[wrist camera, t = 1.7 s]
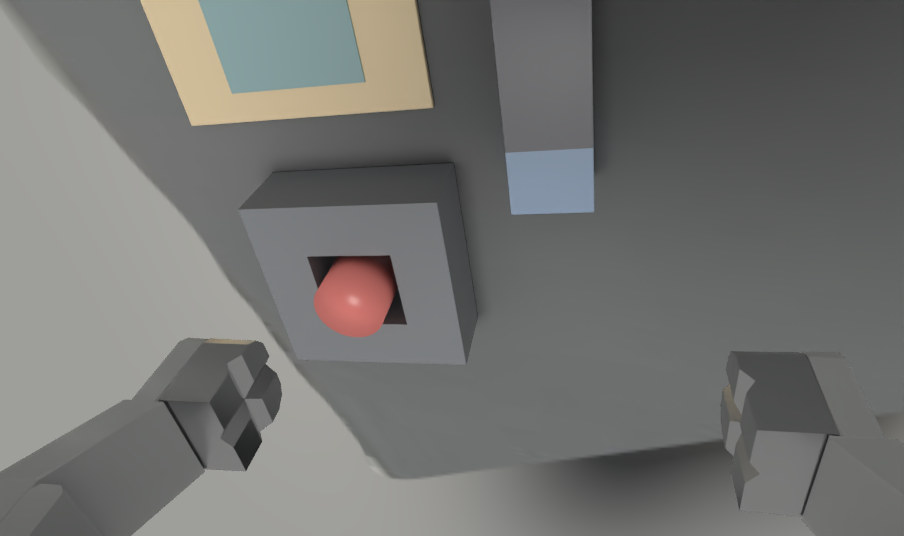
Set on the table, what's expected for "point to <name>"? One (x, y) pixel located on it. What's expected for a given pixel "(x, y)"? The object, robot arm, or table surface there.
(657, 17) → the table surface
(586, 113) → the block
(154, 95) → the table surface
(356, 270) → the button
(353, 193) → the button console
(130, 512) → the robot arm
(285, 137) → the table surface
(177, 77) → the drawing pad
